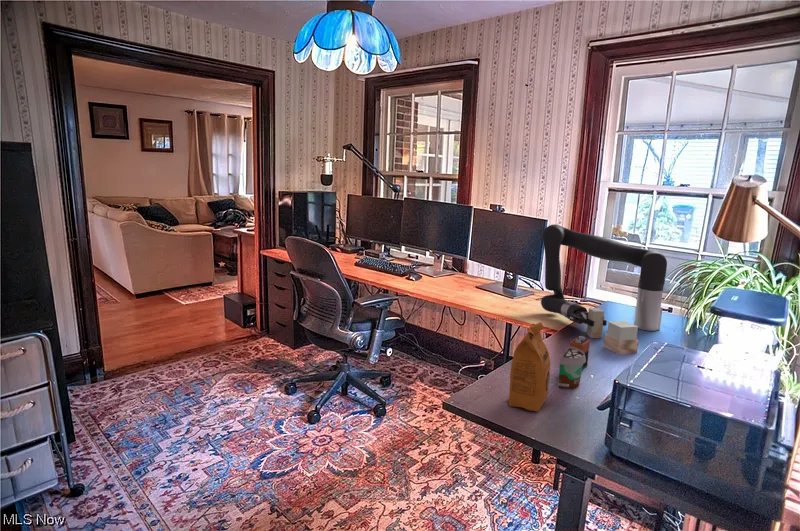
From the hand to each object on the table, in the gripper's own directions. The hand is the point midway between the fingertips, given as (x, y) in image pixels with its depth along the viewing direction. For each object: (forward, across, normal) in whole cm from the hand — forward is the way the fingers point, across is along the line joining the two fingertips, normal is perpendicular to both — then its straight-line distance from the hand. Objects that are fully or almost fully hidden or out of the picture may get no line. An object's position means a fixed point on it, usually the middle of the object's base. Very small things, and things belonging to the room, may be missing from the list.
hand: (599, 323), depth 179 cm
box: (-3, 0, +6) cm, 7 cm away
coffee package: (+44, -55, +6) cm, 71 cm away
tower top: (+13, 0, +1) cm, 13 cm away
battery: (+24, -26, +6) cm, 36 cm away
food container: (+36, -36, +6) cm, 52 cm away
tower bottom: (+13, 0, +6) cm, 14 cm away
